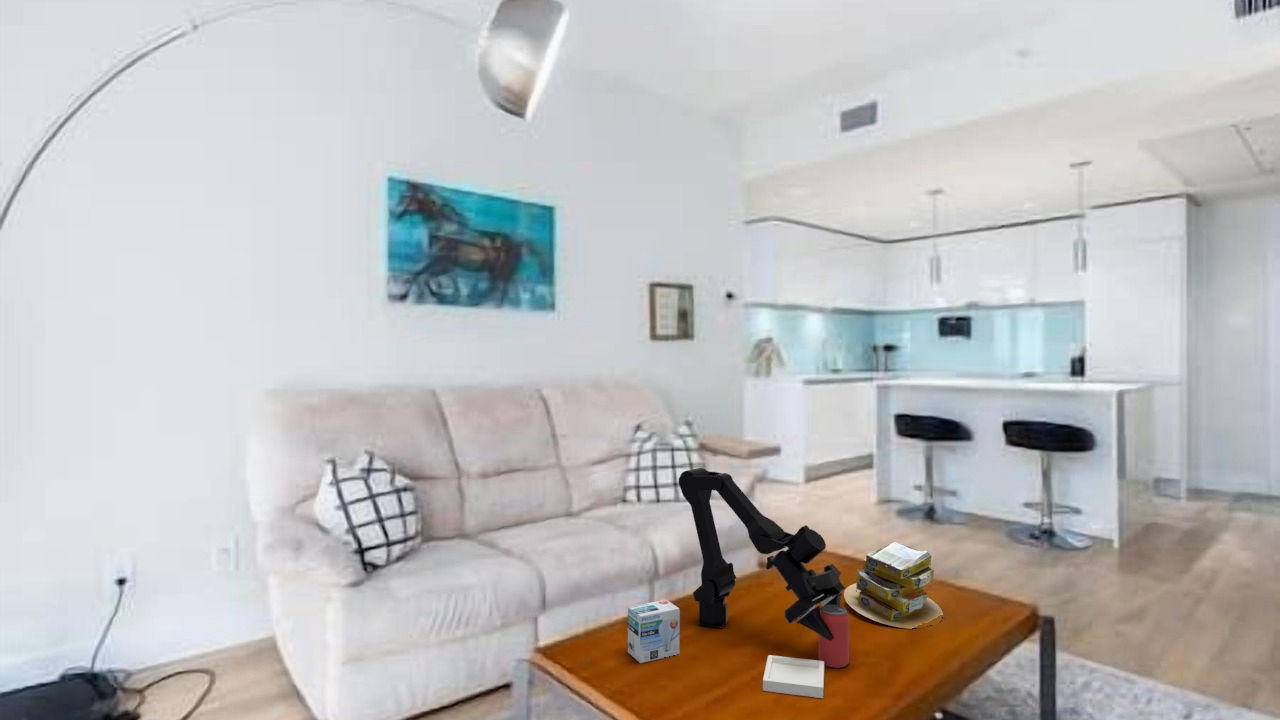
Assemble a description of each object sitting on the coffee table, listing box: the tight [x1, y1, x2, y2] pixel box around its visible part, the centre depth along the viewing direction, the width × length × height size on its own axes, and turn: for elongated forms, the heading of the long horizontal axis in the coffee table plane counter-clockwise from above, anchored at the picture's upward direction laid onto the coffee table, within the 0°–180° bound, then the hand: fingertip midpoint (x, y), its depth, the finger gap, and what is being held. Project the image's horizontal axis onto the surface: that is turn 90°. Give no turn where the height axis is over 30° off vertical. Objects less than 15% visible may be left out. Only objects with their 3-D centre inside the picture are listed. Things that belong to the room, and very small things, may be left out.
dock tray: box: [762, 654, 825, 699], centre depth 148 cm, size 12×12×2 cm
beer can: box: [818, 605, 850, 669], centre depth 156 cm, size 7×7×12 cm
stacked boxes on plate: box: [843, 541, 944, 630], centre depth 186 cm, size 25×25×17 cm
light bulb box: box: [627, 599, 681, 664], centre depth 161 cm, size 11×7×11 cm, turn 117°
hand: (839, 634), depth 155 cm, fingers closed on beer can, 7 cm apart
